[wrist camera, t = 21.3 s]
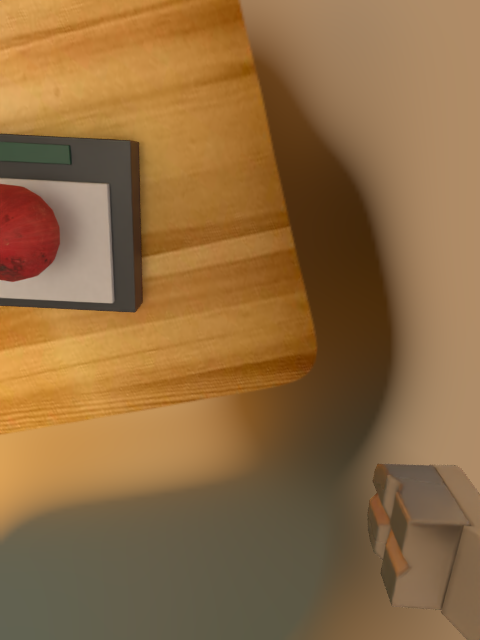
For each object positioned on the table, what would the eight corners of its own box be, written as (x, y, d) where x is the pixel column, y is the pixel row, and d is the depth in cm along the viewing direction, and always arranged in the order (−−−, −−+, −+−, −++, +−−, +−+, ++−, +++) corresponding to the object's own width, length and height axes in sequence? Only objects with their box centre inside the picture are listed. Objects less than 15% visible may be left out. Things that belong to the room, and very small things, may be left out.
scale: (138, 142, 32) (128, 140, 29) (142, 302, 36) (133, 315, 33) (-44, 132, 32) (-73, 129, 29) (-20, 294, 36) (-44, 306, 33)
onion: (90, 255, 32) (41, 284, 24) (14, 276, 32) (-56, 310, 25) (58, 171, 30) (-6, 174, 22) (-21, 195, 30) (-109, 204, 23)
